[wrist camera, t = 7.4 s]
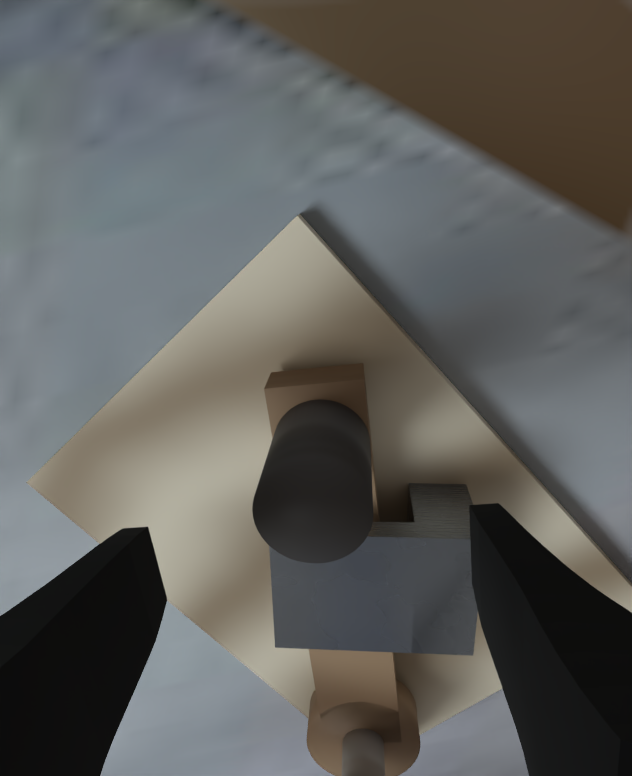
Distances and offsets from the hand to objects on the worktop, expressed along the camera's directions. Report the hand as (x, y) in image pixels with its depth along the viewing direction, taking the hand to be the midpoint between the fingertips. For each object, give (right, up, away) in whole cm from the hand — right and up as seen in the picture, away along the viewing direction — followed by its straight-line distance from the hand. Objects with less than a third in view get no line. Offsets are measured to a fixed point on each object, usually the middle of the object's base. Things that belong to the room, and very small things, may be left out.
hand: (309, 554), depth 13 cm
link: (+1, -4, +9) cm, 9 cm away
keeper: (+2, -1, +9) cm, 9 cm away
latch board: (+1, -2, +9) cm, 10 cm away
